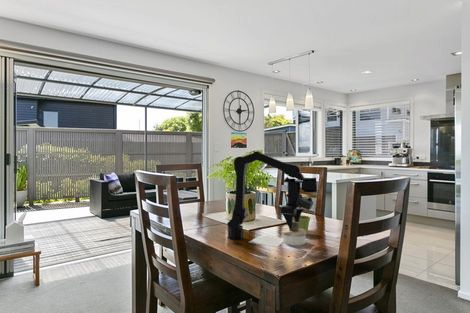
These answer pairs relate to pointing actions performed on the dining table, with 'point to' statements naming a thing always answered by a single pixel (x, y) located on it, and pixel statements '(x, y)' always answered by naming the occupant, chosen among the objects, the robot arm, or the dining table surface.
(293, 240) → the bowl
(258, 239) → the mat
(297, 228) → the lid
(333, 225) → the dining table surface
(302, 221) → the plant pot
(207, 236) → the dining table surface
